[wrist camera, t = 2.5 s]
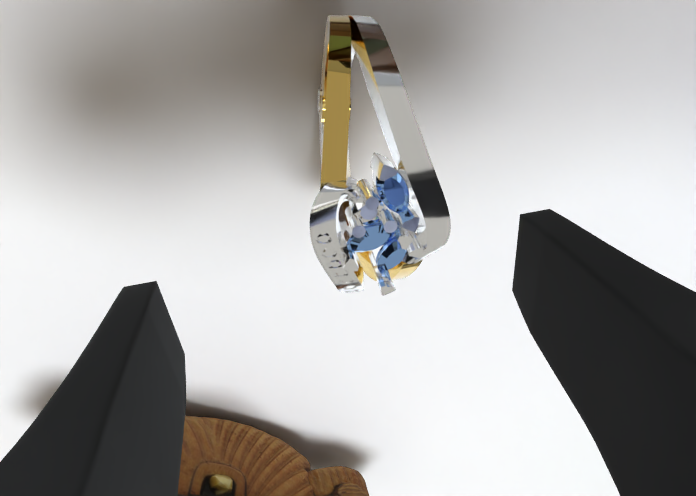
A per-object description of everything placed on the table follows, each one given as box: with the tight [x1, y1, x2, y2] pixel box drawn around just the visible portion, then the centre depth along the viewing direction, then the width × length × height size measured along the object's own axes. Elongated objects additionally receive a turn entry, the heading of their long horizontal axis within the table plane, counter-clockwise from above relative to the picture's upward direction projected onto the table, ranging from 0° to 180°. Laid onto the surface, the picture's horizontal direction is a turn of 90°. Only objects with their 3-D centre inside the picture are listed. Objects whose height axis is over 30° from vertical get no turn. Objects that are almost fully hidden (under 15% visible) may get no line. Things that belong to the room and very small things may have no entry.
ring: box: [310, 15, 450, 295], centre depth 16 cm, size 7×3×8 cm, turn 176°
